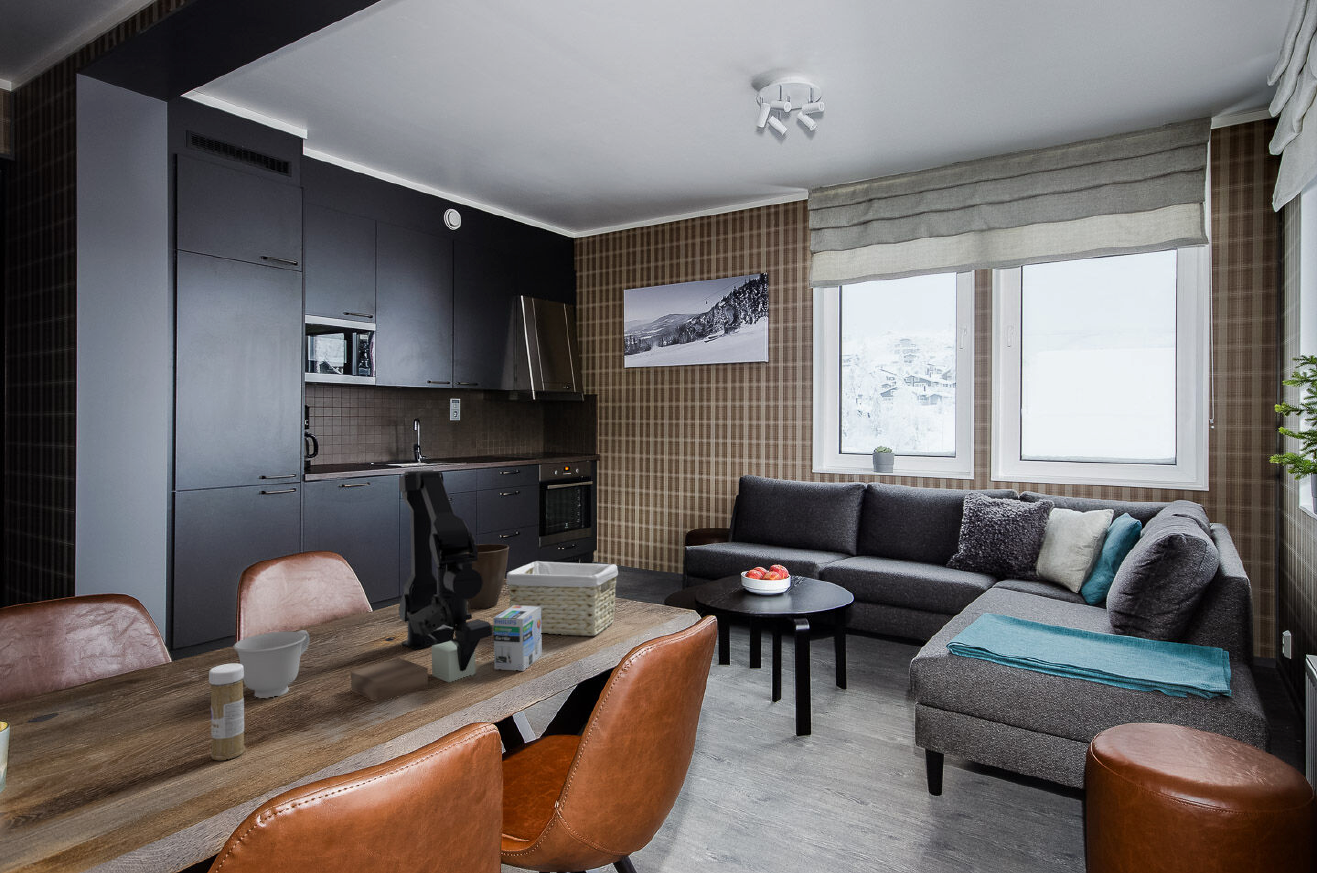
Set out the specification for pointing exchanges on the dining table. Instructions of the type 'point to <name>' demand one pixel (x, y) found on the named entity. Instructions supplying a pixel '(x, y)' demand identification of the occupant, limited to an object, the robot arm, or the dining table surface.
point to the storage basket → (566, 595)
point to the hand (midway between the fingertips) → (453, 667)
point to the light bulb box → (517, 637)
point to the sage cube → (449, 662)
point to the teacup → (271, 660)
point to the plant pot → (489, 574)
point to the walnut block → (389, 679)
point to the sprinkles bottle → (227, 711)
